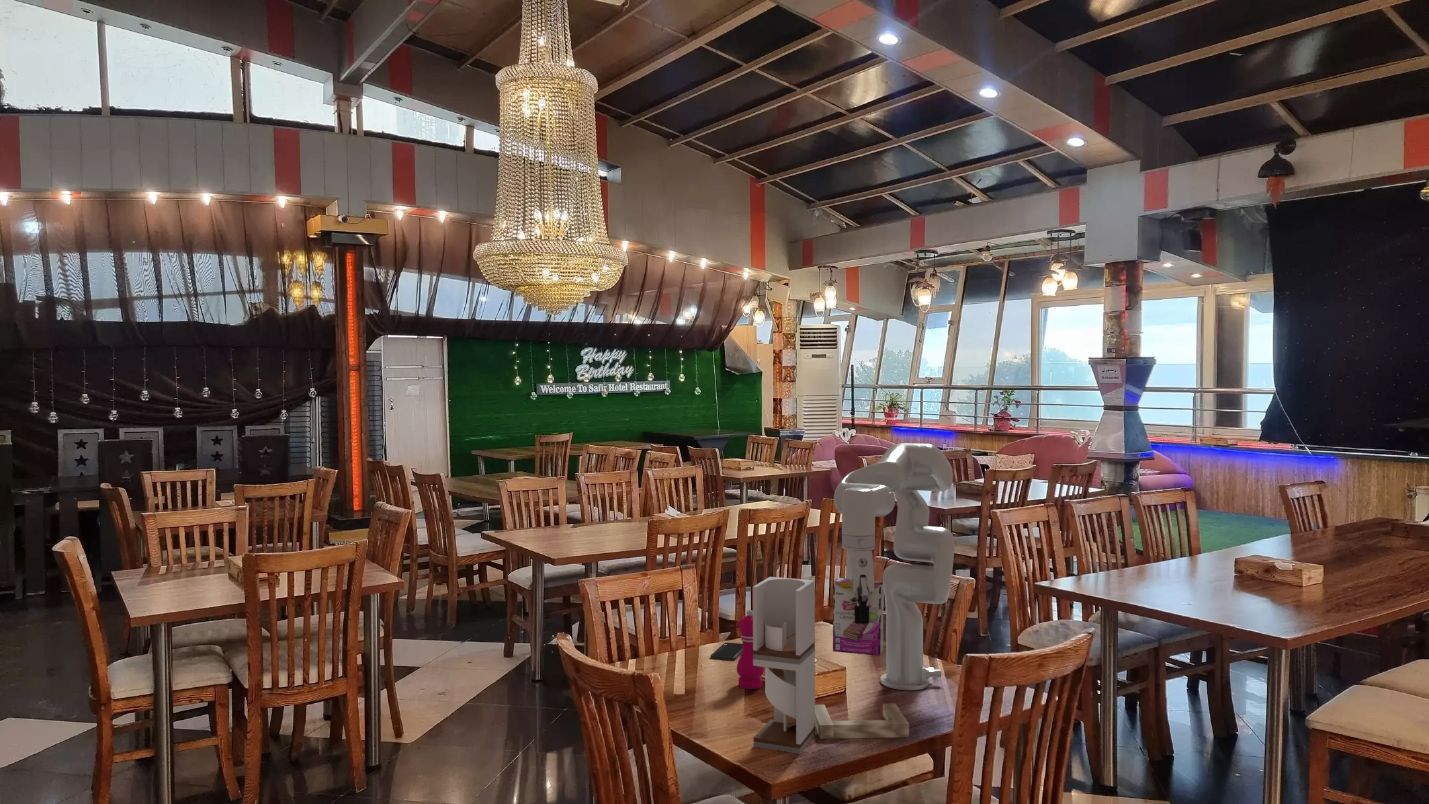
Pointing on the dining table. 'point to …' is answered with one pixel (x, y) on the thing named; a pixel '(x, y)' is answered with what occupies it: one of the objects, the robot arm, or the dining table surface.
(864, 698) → the dining table surface
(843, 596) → the candy bar box
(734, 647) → the phone
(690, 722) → the dining table surface
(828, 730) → the notched board
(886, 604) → the robot arm
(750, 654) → the pepper mill
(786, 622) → the white spiral tower
